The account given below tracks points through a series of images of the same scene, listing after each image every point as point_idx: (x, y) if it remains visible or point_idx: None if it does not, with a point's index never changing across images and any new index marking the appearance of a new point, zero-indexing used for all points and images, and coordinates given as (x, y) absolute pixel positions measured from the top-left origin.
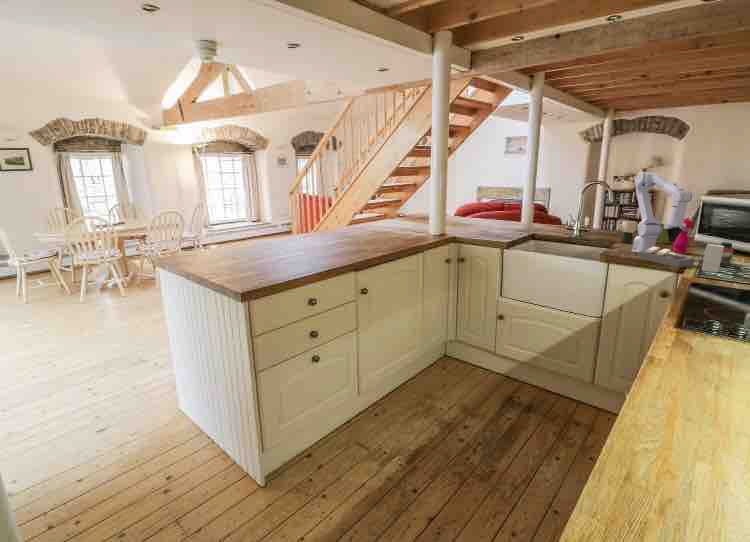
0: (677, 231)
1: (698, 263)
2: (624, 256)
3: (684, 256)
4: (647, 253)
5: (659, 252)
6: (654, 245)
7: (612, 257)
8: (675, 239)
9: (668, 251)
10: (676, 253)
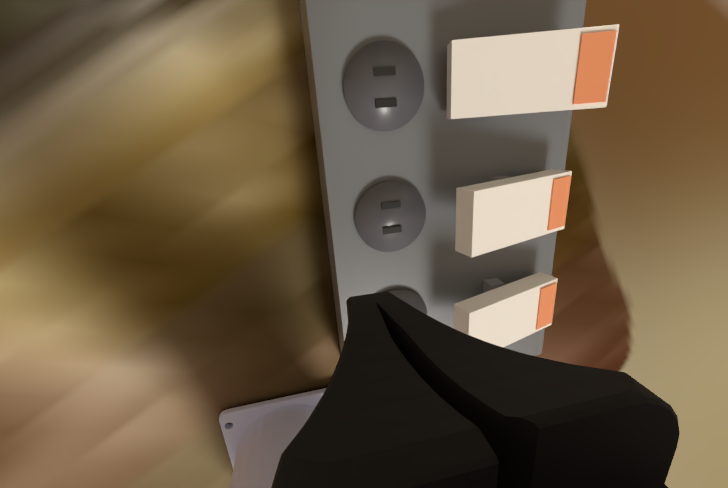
0: (551, 381)
1: (127, 37)
2: None
3: (351, 73)
4: None
5: (563, 209)
6: (266, 476)
7: (624, 355)
8: (367, 313)
9: (494, 184)
10: (592, 27)
